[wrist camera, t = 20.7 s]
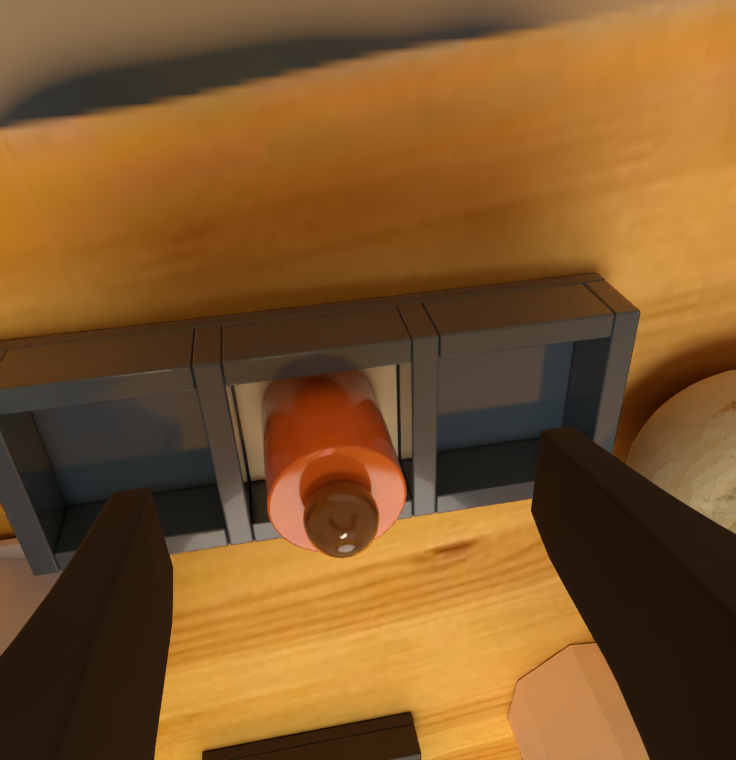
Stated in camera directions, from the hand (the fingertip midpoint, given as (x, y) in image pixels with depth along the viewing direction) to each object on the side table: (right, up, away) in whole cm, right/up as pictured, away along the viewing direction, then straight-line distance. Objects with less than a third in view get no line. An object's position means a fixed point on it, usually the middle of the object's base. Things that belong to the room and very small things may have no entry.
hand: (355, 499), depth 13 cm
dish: (-1, +2, +10) cm, 10 cm away
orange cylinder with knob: (-1, +1, +9) cm, 9 cm away
